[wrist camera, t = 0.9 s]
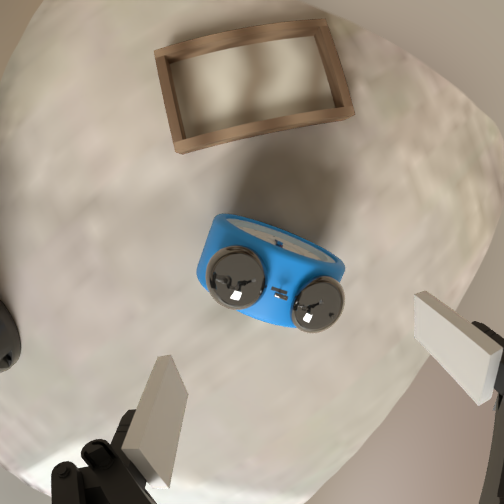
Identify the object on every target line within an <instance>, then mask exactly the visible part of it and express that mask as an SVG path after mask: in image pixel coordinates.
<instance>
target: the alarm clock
mask: <svg viewBox="0 0 504 504" xmlns="http://www.w3.org/2000/svg"><path fill="white" fill-rule="evenodd" d="M344 272H345V265H344V263H343V262H342V261H341V260H340V259H339V258H338V257H337V256H335V255H334V254H332V253H331V252H329V251H327V250H325V249H324V248H322V247H320V246H318V245H316V244H314V243H312V242H310V241H308V240H306V239H304V238H301V237H299V236H297V235H295V234H292V233H290V232H287V231H285V230H282V229H280V228H277V227H274V226H271V225H269V224H266V223H263V222H260V221H257V220H253V219H250V218H246V217H242V216H238V215H232V214H219V215H217V216H216V217H215V218H214V220H213V223H212V225H211V228H210V231H209V234H208V237H207V240H206V243H205V246H204V249H203V252H202V255H201V258H200V261H199V264H198V267H197V271H196V273H197V277H198V280H199V281H200V283H201V284H202V286H203V287H204V288H205V289H206V290H207V291H208V292H209V293H210V294H211V296H212V297H213V299H214V300H215V301H216V302H217V303H219V304H220V305H222V306H224V307H226V308H228V309H233V310H237V311H239V312H241V313H243V314H245V315H248V316H250V317H252V318H255V319H258V320H261V321H264V322H267V323H271V324H275V325H279V326H284V327H292V328H298V329H300V330H301V331H303V332H307V333H319V332H322V331H324V330H326V329H328V328H330V327H331V326H332V325H334V324H335V323H336V321H337V320H338V319H339V317H340V316H341V314H342V312H343V309H344V305H345V294H344V290H343V288H342V286H341V284H340V281H341V278H342V276H343V274H344Z"/></svg>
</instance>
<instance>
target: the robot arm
mask: <svg viewBox="0 0 504 504" xmlns="http://www.w3.org/2000/svg"><path fill="white" fill-rule="evenodd" d="M414 316H415V333H414V337H415V338H416V340H417V341H418V342H419V343H420V344H421V345H422V346H423V347H424V348H425V349H426V350H427V351H428V352H429V353H430V354H431V355H432V356H433V357H434V358H435V359H436V360H437V361H438V362H439V363H440V365H442V367H443V368H444V369H445V370H446V371H447V372H448V373H449V374H450V375H451V376H452V377H453V378H454V379H455V381H456V382H457V383H458V384H459V385H460V386H461V387H462V388H463V389H464V390H465V392H466V393H467V394H468V395H469V396H470V397H471V398H472V399H473V400H474V402H475V403H476V404H477V405H478V406H479V405H481V404H482V403H484V402H486V401H487V400H489V399H490V398H491V396H492V393H493V389H495V390H496V391H497V392H498V396H497V399H496V402H495V405H494V408H493V410H495V409H496V413H495V423H494V431H493V438H492V445H491V451H490V457H489V462H488V467H487V472H486V477H485V482H484V486H483V489H482V493H481V497H480V501H479V504H504V338H502V337H501V336H500V335H498V334H496V333H495V332H494V331H493V330H491V329H490V328H489V327H487V326H486V325H484V324H482V323H479V322H476V321H474V322H472V323H470V322H469V321H467V320H466V319H465V318H463V317H462V316H460V315H459V314H458V313H456V312H455V311H454V310H452V309H451V308H450V307H448V306H447V305H445V304H444V303H443V302H441V301H440V300H438V299H437V298H435V297H434V296H433V295H431V294H430V293H428V292H427V291H423V292H420V293H417V294H414ZM20 351H21V346H20V339H19V335H18V331H17V328H16V326H15V323H14V321H13V319H12V317H11V315H10V313H9V312H8V310H7V308H6V307H5V306H4V304H3V303H2V302H1V300H0V373H1V372H4V371H6V370H8V369H10V368H11V367H12V366H13V365H14V364H15V363H16V362H17V361H18V359H19V356H20ZM187 398H188V393H187V390H186V388H185V386H184V384H183V381H182V379H181V377H180V375H179V372H178V370H177V368H176V365H175V363H174V361H173V358H172V356H171V355H167V356H160V357H158V358H157V360H156V363H155V365H154V367H153V370H152V372H151V375H150V377H149V379H148V382H147V384H146V387H145V389H144V392H143V394H142V397H141V399H140V402H139V404H138V407H137V409H135V410H128V411H127V412H126V413H125V415H124V416H123V417H122V418H121V421H120V423H119V426H118V428H117V430H116V433H115V435H114V437H113V440H112V442H111V444H109V443H108V442H107V441H106V440H103V439H96V440H93V441H90V442H89V443H87V444H86V445H85V446H84V447H83V448H82V451H81V457H82V459H83V460H84V461H85V462H86V463H87V465H88V467H83V468H77V467H76V466H75V464H73V463H72V462H69V461H66V462H62V463H59V464H58V465H57V466H55V467H54V469H53V470H52V474H51V493H52V504H157V503H156V502H155V501H154V499H153V498H152V497H151V495H150V494H149V493H148V491H147V490H146V489H145V486H146V482H148V484H149V485H150V486H151V487H152V488H153V489H169V488H170V482H171V477H172V472H173V467H174V461H175V456H176V451H177V446H178V441H179V436H180V432H181V427H182V422H183V417H184V412H185V408H186V403H187Z"/></svg>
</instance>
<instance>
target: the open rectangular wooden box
mask: <svg viewBox="0 0 504 504" xmlns="http://www.w3.org/2000/svg"><path fill="white" fill-rule="evenodd" d="M154 55H155V60H156V65H157V70H158V75H159V80H160V85H161V90H162V94H163V99H164V104H165V108H166V113H167V117H168V122H169V126H170V131H171V135H172V140H173V144H174V148H175V152H177V153H179V154H186V153H189V152H193V151H196V150H200V149H204V148H208V147H212V146H215V145H219V144H223V143H228V142H232V141H236V140H240V139H244V138H249V137H253V136H258V135H263V134H267V133H272V132H277V131H282V130H288V129H293V128H298V127H304V126H310V125H316V124H322V123H328V122H335V121H342V120H345V119H347V118H349V117H351V116H354V115H355V112H354V108H353V104H352V100H351V97H350V93H349V90H348V86H347V83H346V79H345V76H344V73H343V69H342V66H341V63H340V60H339V57H338V54H337V51H336V48H335V45H334V42H333V39H332V36H331V33H330V30H329V28H328V25H327V22H326V19H312V20H299V21H289V22H280V23H272V24H265V25H259V26H252V27H246V28H241V29H235V30H230V31H226V32H221V33H216V34H212V35H208V36H203V37H199V38H196V39H192V40H188V41H184V42H181V43H177V44H174V45H170V46H167V47H164V48H161V49H158V50H155V51H154Z"/></svg>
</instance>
